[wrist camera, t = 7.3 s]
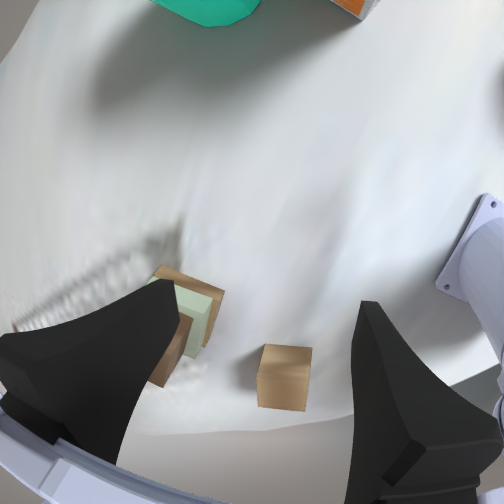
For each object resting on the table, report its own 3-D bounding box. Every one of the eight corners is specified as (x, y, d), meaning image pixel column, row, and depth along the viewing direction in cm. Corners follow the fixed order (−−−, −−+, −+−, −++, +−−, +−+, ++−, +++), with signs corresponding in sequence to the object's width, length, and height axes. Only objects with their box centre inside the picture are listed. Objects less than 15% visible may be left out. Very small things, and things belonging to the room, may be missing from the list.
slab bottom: (227, 286, 25) (219, 300, 23) (211, 333, 28) (204, 347, 26) (165, 261, 25) (154, 273, 23) (157, 309, 28) (147, 322, 26)
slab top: (212, 298, 23) (204, 314, 21) (202, 343, 26) (194, 358, 24) (153, 276, 24) (141, 289, 22) (150, 322, 26) (139, 336, 24)
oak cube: (312, 347, 25) (308, 382, 22) (308, 377, 27) (304, 411, 23) (265, 343, 26) (256, 377, 23) (266, 373, 28) (257, 406, 24)
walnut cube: (193, 318, 22) (170, 355, 18) (183, 352, 24) (162, 388, 20) (145, 294, 22) (116, 327, 18) (140, 330, 24) (115, 362, 20)
